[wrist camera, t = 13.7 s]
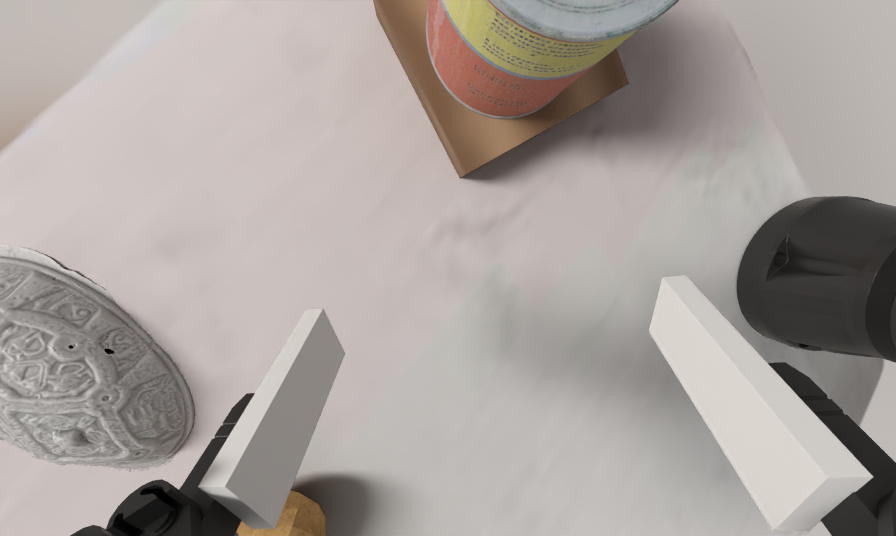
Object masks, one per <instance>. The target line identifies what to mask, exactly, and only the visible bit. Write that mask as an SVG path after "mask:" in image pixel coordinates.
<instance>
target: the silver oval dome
mask: <svg viewBox="0 0 896 536" xmlns="http://www.w3.org/2000/svg"><path fill="white" fill-rule="evenodd" d="M52 279H56V280H52ZM106 336H109V337H106ZM70 345H72V346H74V348H69V346H70ZM104 349H111V350H113V351H114V352H115V353H114V354H107V353H106V352H105V350H104ZM194 416H195V415H194V406H193V401H192V397H191V394H190V391H189V388H188V386H187V384H186V382H185V380H184V378H183V377H182V375H181V373H180V372H179V370H178V368H176V366H175V365H174V363H173V362H172V361H171V359H170V358H169V357H168V356H167V355H166V353H165V352H164V351H163V350H162V349H161V348H160V347H159V346H158V345H157V344H156V343H155V342H154V340H153V339H152V338H151V337H150V336H149V335H148V334H147V333H146V332H145V331H144V330H143V329H142V328H141V327H140V326H139V325H138V324H137V323H136V322H134V321H133V320H132V319H131V318H130V317H129V316H128V315H127V314H126V313H125V312H124V311H123V310H122V309H121V308H120V307H119V306H118V305H117V304H116V302H115V301H114V299H113V298H112V296H111V295H110V293H108V292H107V291H106V290H105V289H104V288H102V287H100V286H99V285H96V284H95V283H94V282H92V281H90V280H89V279H87V278H84V277H83V276H81V275H80V274H78V273H77V272H75V271H71V270H66V269H64V268H63V267H61V266H60V264H58V263H56V262H55V261H54V260H53V259H52V258H51V257H48V256H46V255H45V254H42V253H39V252H37V251H34V250H31V249H28V248H24V247H16V246H12V245H2V246H0V440H4V441H6V442H8V443H10V444H11V445H13V446H15V447H17V448H19V449H21V450H23V451H25V452H27V453H29V454H30V455H31V456H32V457H34V458H37V459H43V460H46V461H49V462H52V463H55V464H57V465H66V464H75V465H89V466H100V467H104V468H113V469H117V470H122V469H123V470H126V471H130V470H133V471H134V470H135V471H136V470H138V471H141V470H144V469H145V470H147V469H150V468H156V467H159V466H161V465H163V464H164V465H165V464H167V463H169V462H171V459H172V458H174V455H175V453H176V452H177V451H178V449H179V447H180V446H181V445H182V444H183V442H184V441H185V440H186V438H187V437H188V435H189V434H190V432H191V430H192V428H193V425H194Z"/></svg>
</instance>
